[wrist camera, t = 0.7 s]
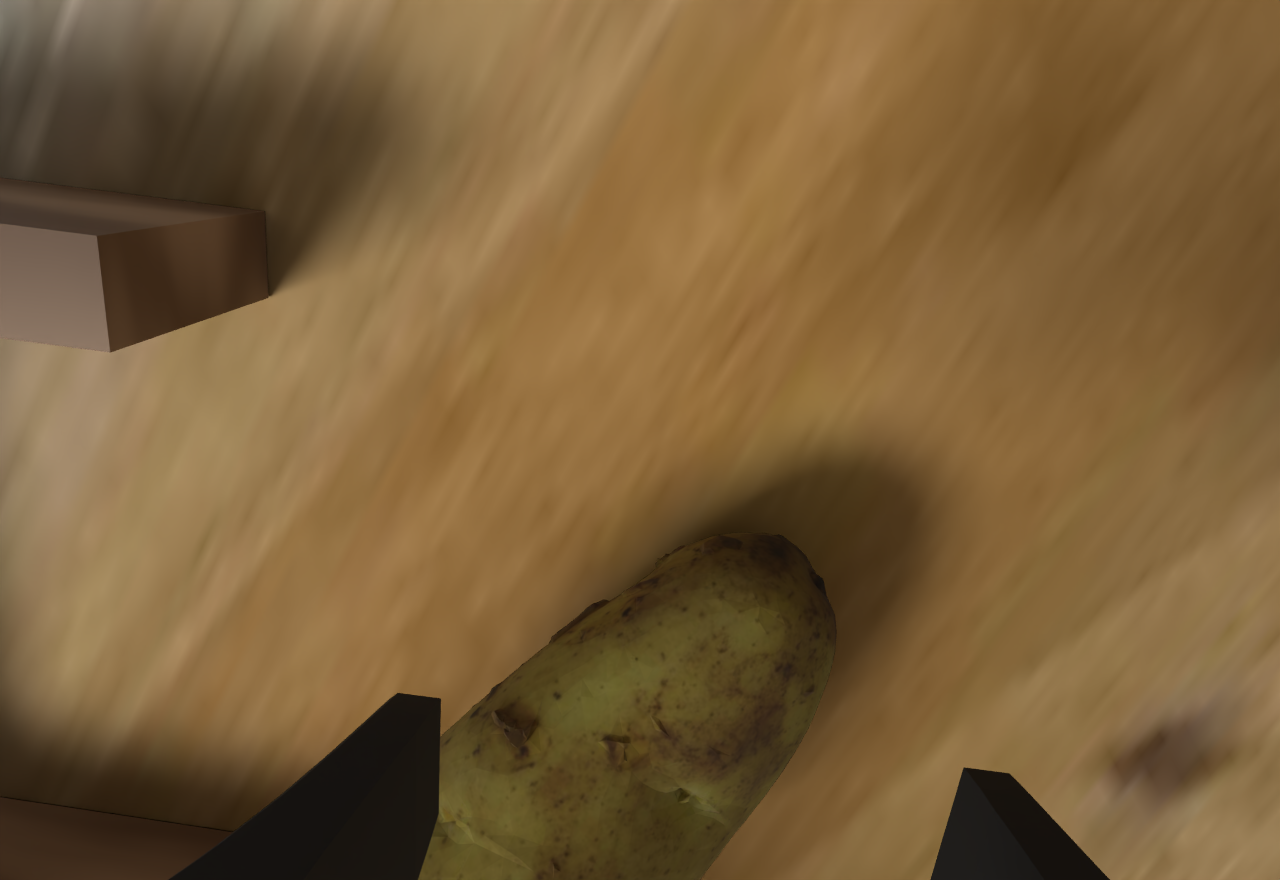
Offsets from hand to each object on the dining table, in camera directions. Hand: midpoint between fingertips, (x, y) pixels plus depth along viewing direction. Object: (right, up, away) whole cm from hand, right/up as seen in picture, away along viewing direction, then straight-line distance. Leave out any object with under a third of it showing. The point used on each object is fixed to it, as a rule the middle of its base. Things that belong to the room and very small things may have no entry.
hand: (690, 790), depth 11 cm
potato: (-1, -2, +11) cm, 12 cm away
